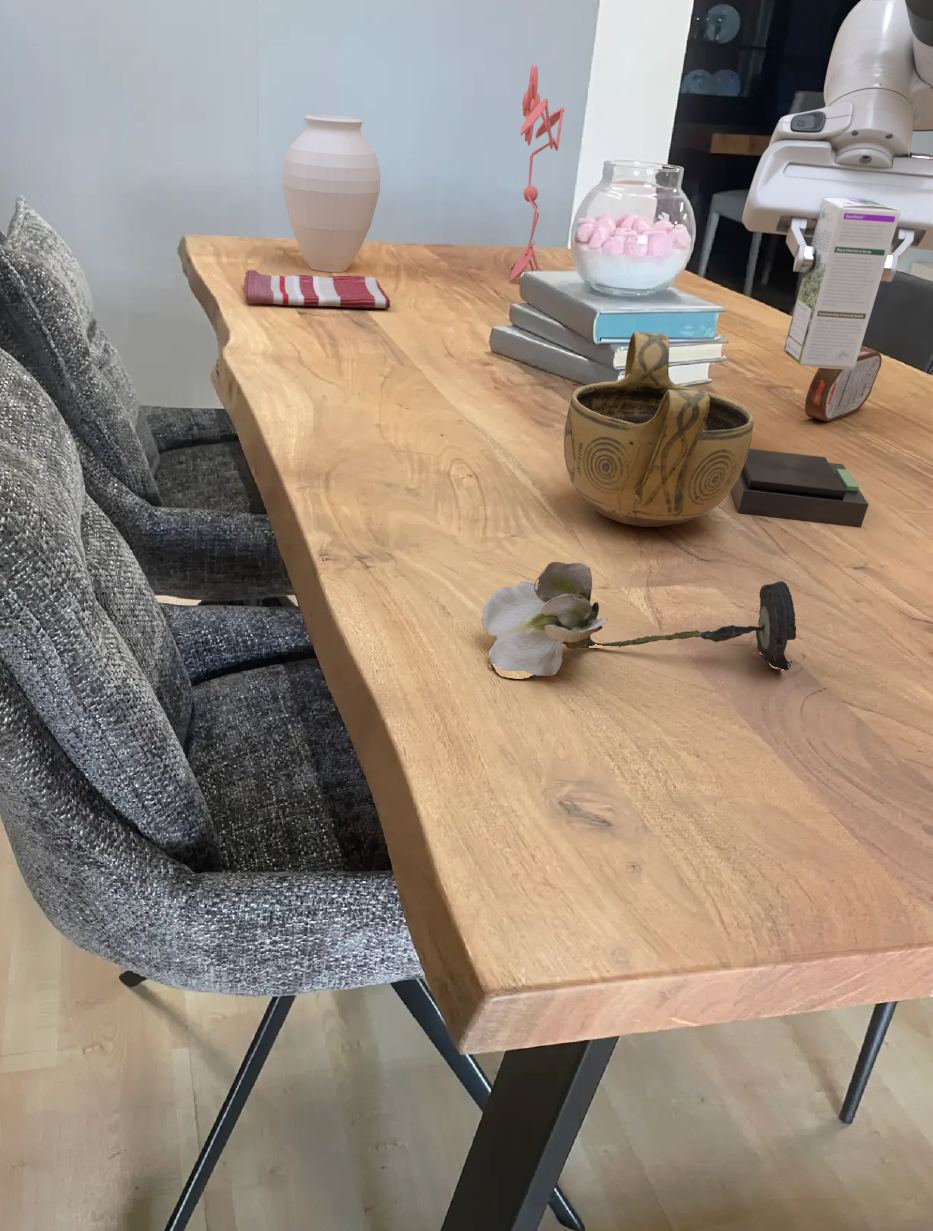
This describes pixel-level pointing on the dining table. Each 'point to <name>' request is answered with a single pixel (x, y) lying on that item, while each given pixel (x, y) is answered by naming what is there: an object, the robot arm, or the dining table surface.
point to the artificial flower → (600, 621)
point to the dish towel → (315, 290)
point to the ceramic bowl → (653, 442)
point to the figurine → (532, 113)
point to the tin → (842, 387)
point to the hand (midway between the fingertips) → (843, 272)
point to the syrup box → (841, 282)
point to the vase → (331, 190)
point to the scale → (798, 489)
